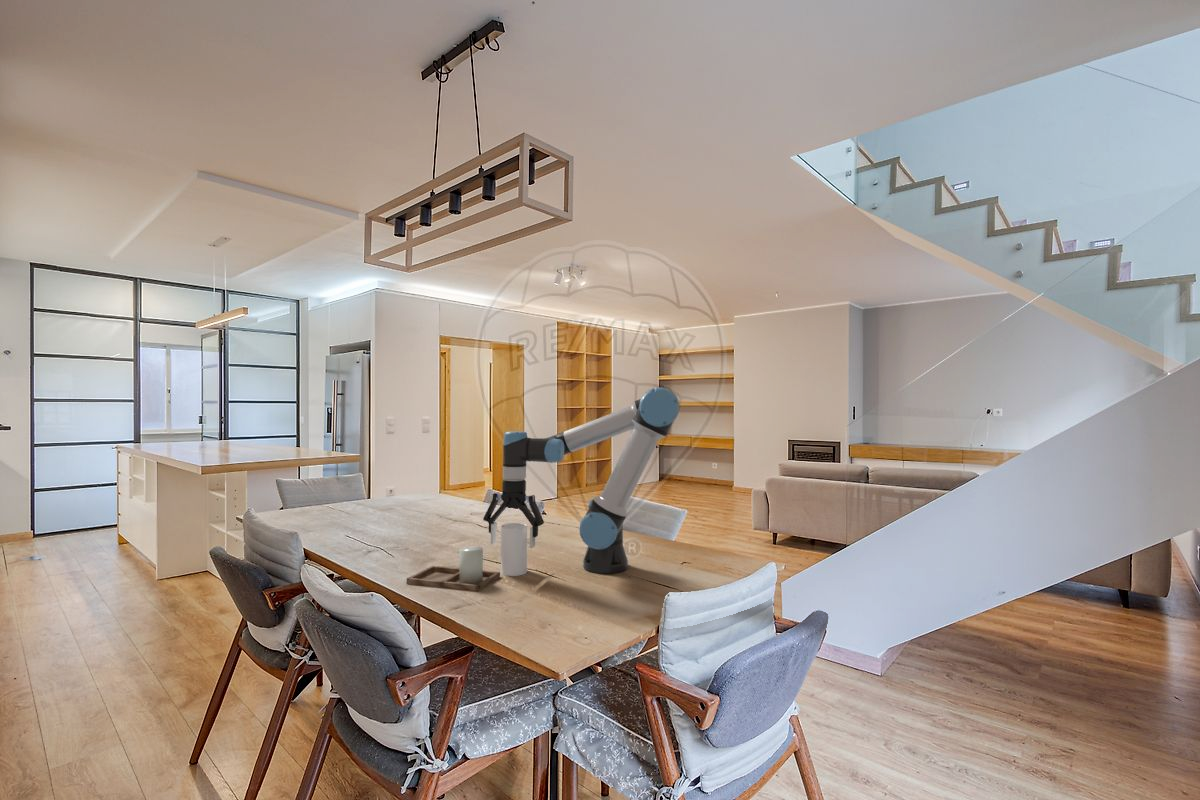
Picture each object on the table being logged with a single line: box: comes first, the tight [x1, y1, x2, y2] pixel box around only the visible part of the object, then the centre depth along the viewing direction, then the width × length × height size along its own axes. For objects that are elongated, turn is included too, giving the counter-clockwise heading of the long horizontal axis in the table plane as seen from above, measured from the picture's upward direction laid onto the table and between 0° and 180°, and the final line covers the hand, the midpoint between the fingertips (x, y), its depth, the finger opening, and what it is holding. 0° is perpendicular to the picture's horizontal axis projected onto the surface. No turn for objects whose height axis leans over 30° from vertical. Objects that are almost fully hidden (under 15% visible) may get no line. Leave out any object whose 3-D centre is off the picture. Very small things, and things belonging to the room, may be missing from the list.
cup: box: [500, 522, 528, 577], centre depth 182 cm, size 8×8×16 cm
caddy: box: [406, 565, 501, 592], centre depth 173 cm, size 24×14×2 cm, turn 74°
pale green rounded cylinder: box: [458, 545, 484, 585], centre depth 172 cm, size 7×7×10 cm
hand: (512, 545), depth 182 cm, fingers open, 13 cm apart
